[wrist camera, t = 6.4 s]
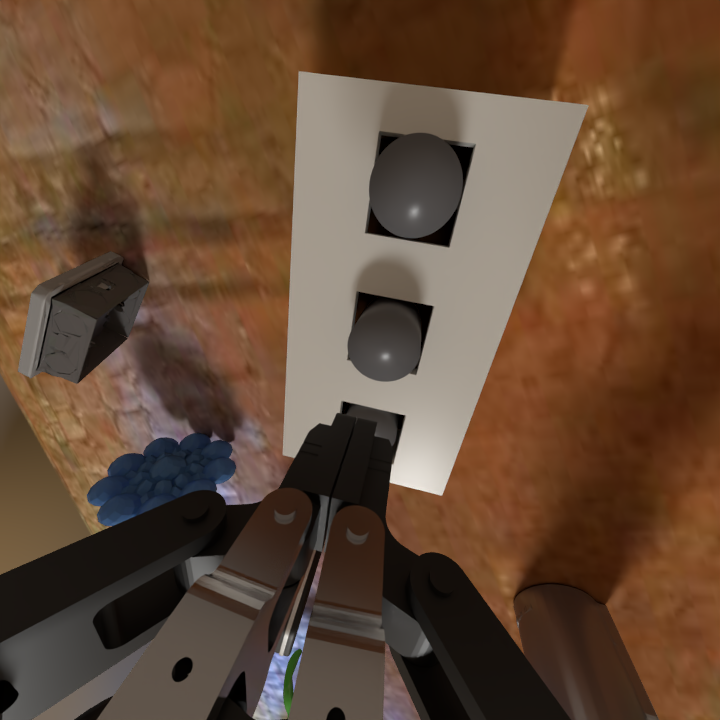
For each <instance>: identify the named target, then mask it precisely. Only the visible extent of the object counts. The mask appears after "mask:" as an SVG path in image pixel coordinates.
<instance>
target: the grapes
mask: <svg viewBox="0 0 720 720" xmlns="http://www.w3.org/2000/svg"><path fill="white" fill-rule="evenodd" d="M232 450H233V449H232V446H231V444H229V443H228V442H226V441H222V440H217V441H213V442H211V441H210V438H209V437H208V436H207V435H205V434H201V433H193V434H190V435H189V436H187V437H185V438H184V439H183V440H182V441H181V442H180V444H178V442H177V441H176V440H174V439H172V438H167V437H166V438H158V439H156V440H154V441H152V442H151V443H150V444H149V445H148V446H147V447H146V448H145V450H144V452H143V454H144V456H143V455H142V454H137V453H129V454H125V455H122V456H120V457H119V458H117V459H116V460H115V461H114V462H112V463H111V465H110V467H109V469H108V470H107V471H108V475H109V476H108V477H105V478H103V479H101V480H100V481H98V482H97V483H96V484H94V485H93V486H92V487H91V488H90V490H89V492H88V494H87V498H88V502H89V503H91V504H93V505H94V506H101V508H100V510H99V512H98V514H97V517H98V522H100V523H101V524H103V525H105V526H114V525H116V524H119V523H121V522H123V521H125V520H128V519H130V518H132V517H135V516H137V515H139V514H142V513H144V512H146V511H149V510H151V509H153V508H155V507H158V506H160V505H162V504H165V503H167V502H169V501H172V500H174V499H176V498H179V497H181V496H183V495H185V494H188V493H191V492H194V491H198V490H211V491H215V492H216V490H217V487H216V484H220V483H223V482H225V481H227V480H229V479H230V478H231V477H232V475H233V474H234V472H235V469H236V465H235V462H234V461H233V460H231V459H230V458H229V457H230V456H231V453H232Z"/></svg>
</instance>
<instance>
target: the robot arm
mask: <svg viewBox="0 0 720 720" xmlns="http://www.w3.org/2000/svg"><path fill="white" fill-rule="evenodd" d="M356 420H357V422H356ZM376 427H377V422H376V421H372V420H367V419H363V418H359V417H358V419H357V417H354V416H350V415H345V414H341V413H337V414H336V416H335V418H334V420H333V423H332V425H331V426H330V425H326V424H321V423H319V424H318V425H316V426H315V427H314V428H312V429H311V430H310V431H309V432H308V434H307V436H306V438H305V440H304V443H303V444H302V446H301V447H300V449H299V452H298V453H297V455H296V457H295V459H294V461H293V463H292V464H291V466H290V468H289V470H288V472H287V474H286V476H285V478H284V480H283V481H282V483H281V485H280V487H279V488H278V489H277V490H275V491H273V492H271V493H269V494H268V495H267V496H266V497H265V498H264V499H263V500H262V501H260V502H258V503H253V504H242V505H226V502H225V500H224V498H223V497H222V496H221V495H220V494H219V493H217V492H215V491H211V490H198V491H194V492H191V493H188V494H185V495H183V496H181V497H179V498H176V499H174V500H172V501H169V502H167V503H165V504H162V505H160V506H158V507H155V508H153V509H151V510H149V511H146V512H144V513H142V514H139V515H137V516H135V517H132V518H130V519H128V520H125V521H123V522H121V523H119V524H116V525H114V526H112V527H109V528H107V529H105V530H102V531H100V532H98V533H96V534H93V535H91V536H89V537H86V538H84V539H82V540H79V541H77V542H75V543H73V544H70V545H68V546H66V547H63V548H61V549H59V550H56V551H54V552H52V553H50V554H47V555H45V556H43V557H40V558H38V559H36V560H33V561H31V562H29V563H26V564H24V565H22V566H20V567H17V568H15V569H13V570H10V571H8V572H6V573H3V574H1V575H0V720H32V719H33V718H35V717H37V716H38V715H40V714H41V713H42V712H44V711H46V710H47V709H49V708H50V707H52V706H53V705H55V704H56V703H58V702H59V701H61V700H62V699H64V698H65V697H67V696H68V695H70V694H71V693H73V692H74V691H76V690H77V689H79V688H80V687H82V686H83V685H85V684H86V683H88V682H89V681H91V680H92V679H94V678H95V677H97V676H98V675H100V674H101V673H103V672H104V671H106V670H107V669H109V668H110V667H112V666H113V665H115V664H117V663H118V662H119V661H121V660H122V659H124V658H126V657H127V656H129V655H130V654H131V653H133V652H135V651H136V650H137V649H139V648H140V647H142V646H143V645H145V644H147V643H148V642H149V641H151V640H153V641H152V642H151V643H150V645H149V646H148V648H147V649H146V651H145V652H144V653H143V655H142V656H141V658H140V659H139V661H138V662H137V663H136V665H135V666H134V668H133V669H132V670H131V672H130V673H129V675H128V676H127V677H126V679H125V680H124V682H123V683H122V685H121V686H120V687H119V689H118V690H117V692H116V693H115V694H114V696H112V697H110V698H108V699H106V700H104V701H102V702H100V703H99V704H97V705H96V706H94V707H92V708H90V709H89V710H87V711H86V712H84V713H83V714H82V715H80V716H79V717H77V718H76V719H75V720H255V719H253V718H252V717H253V714H254V712H255V709H256V707H257V704H258V702H259V699H260V696H261V693H262V691H263V688H264V685H265V681H266V678H267V674H268V670H269V667H270V663H271V660H272V657H273V655H274V652H275V650H276V647H277V645H278V642H279V640H280V637H281V635H282V632H283V630H284V627H285V625H286V622H287V620H288V617H289V615H290V613H291V610H292V608H293V605H294V603H295V600H296V598H297V595H298V593H299V590H300V588H301V585H302V583H303V581H304V578H305V574H306V571H307V568H308V566H309V563H310V560H311V556H312V553H313V550H317V551H321V552H322V549H323V546H324V543H325V549H324V552H325V556H324V561H323V565H322V570H321V575H320V579H319V584H318V589H317V593H316V598H315V603H314V607H313V611H312V613H311V617H310V621H309V625H308V629H307V634H306V639H305V643H304V648H303V652H302V657H301V662H300V666H299V671H298V675H297V680H296V685H295V689H294V694H293V699H292V703H291V708H290V712H289V717H288V719H282V720H383V701H384V668H385V642H386V643H387V644H388V645H389V647H390V651H391V654H392V656H393V659H394V661H395V663H396V665H397V668H398V670H399V672H400V674H401V676H402V679H403V681H404V683H405V685H406V688H407V690H408V692H409V694H410V696H411V699H412V701H413V703H414V705H415V708H416V710H417V712H418V714H419V716H420V719H421V720H659V719H658V717H657V715H656V712H655V710H654V708H653V706H652V704H651V702H650V699H649V697H648V695H647V693H646V691H645V689H644V686H643V684H642V682H641V680H640V678H639V676H638V673H637V671H636V669H635V667H634V665H633V663H632V660H631V658H630V656H629V654H628V652H627V650H626V648H625V645H624V643H623V641H622V639H621V637H620V635H619V632H618V630H617V628H616V626H615V624H614V622H613V619H612V617H611V615H610V613H609V611H608V609H607V606H606V605H603V604H599V603H597V602H596V601H595V600H594V599H593V598H592V597H591V596H590V595H588V594H586V593H585V592H583V591H581V590H578V589H576V588H572V587H569V586H564V585H553V584H547V585H538V586H534V587H531V588H528V589H526V590H524V591H522V592H521V593H519V594H518V595H517V597H516V598H515V600H514V610H515V615H516V620H517V626H518V628H519V633H520V637H521V641H522V646H523V651H524V654H523V653H522V651H521V650H520V649H519V647H518V646H517V644H516V643H515V642H514V640H513V639H512V638H511V636H510V635H509V633H508V632H507V631H506V629H505V628H504V627H503V625H502V624H501V622H500V621H499V620H498V618H497V617H496V616H495V614H494V613H493V611H492V610H491V609H490V607H489V606H488V605H487V603H486V602H485V600H484V599H483V598H482V596H481V595H480V594H479V592H478V591H477V589H476V588H475V587H474V585H473V584H472V583H471V581H470V580H469V578H468V577H467V576H466V574H465V573H464V571H463V570H462V569H461V568H460V567H459V565H458V564H457V563H455V562H454V561H453V560H452V559H450V558H449V557H447V556H445V555H442V554H440V553H434V552H430V553H425V554H422V555H420V556H418V555H416V554H415V553H413V552H412V551H410V550H409V549H407V548H405V547H404V546H403V545H401V544H400V543H399V542H398V541H397V540H396V539H395V538H394V537H393V536H392V534H391V533H390V531H389V529H388V527H387V523H386V518H385V516H386V506H387V499H388V491H389V483H390V474H391V468H392V460H393V452H394V451H393V448H392V446H391V443H390V441H389V439H385V438H381V437H377V436H375V432H376ZM325 539H326V542H325ZM524 655H525V656H524Z"/></svg>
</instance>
